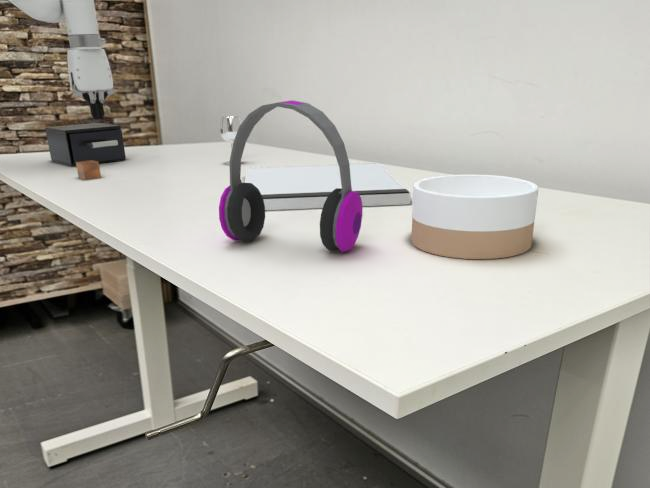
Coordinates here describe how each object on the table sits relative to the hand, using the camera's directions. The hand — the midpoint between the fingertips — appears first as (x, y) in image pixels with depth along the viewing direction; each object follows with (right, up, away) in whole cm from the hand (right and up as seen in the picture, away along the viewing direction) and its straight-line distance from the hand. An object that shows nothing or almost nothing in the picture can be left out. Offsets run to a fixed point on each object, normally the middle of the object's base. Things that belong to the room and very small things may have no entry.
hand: (98, 119), depth 161 cm
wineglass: (+36, -12, +1) cm, 38 cm away
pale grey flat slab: (+59, -27, -34) cm, 73 cm away
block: (+4, -20, -15) cm, 25 cm away
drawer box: (-7, -8, +12) cm, 16 cm away
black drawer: (-4, -8, +9) cm, 13 cm away
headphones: (+56, -43, -72) cm, 101 cm away
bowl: (+82, -43, -73) cm, 118 cm away
